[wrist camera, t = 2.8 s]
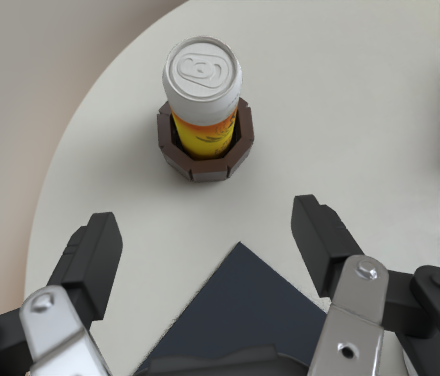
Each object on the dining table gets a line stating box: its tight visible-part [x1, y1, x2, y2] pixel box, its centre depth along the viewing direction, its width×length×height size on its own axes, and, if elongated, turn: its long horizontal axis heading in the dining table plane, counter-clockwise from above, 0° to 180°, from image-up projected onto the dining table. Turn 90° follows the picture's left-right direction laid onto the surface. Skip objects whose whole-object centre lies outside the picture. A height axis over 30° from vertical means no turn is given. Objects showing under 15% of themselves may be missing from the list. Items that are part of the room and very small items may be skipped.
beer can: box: [162, 36, 242, 161], centre depth 27 cm, size 6×6×15 cm
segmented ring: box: [157, 97, 254, 182], centre depth 32 cm, size 10×10×4 cm
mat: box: [134, 242, 327, 375], centre depth 30 cm, size 20×16×1 cm
